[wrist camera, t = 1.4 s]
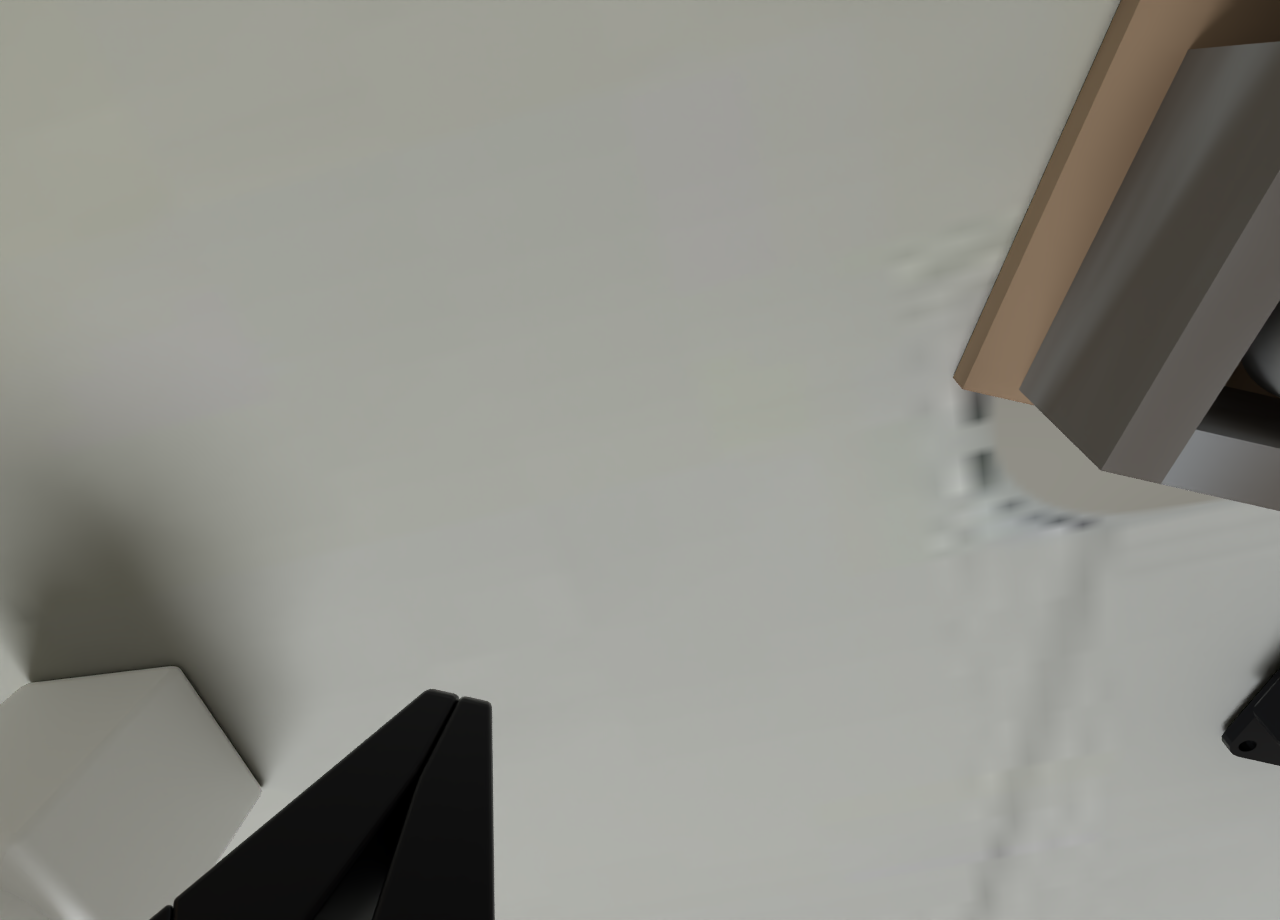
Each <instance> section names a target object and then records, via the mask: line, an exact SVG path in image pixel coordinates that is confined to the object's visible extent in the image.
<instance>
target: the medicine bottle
mask: <svg viewBox="0 0 1280 920" xmlns="http://www.w3.org/2000/svg"><path fill="white" fill-rule="evenodd" d="M261 792H262V790H261V787H260V785H259V783H258V782H257V780H256V779H255V777H254V776H253V775H252V773H251V772H250V770H249V769H248V767H247V766H246V764H245V763H244V761H243V760H242V758H241V757H240V755H239V754H238V753H237V751H236V750H235V748H234V747H233V745H232V744H231V742H230V741H229V739H228V738H227V736H226V735H225V733H224V732H223V730H222V729H221V728H220V726H219V725H218V723H217V722H216V720H215V719H214V717H213V716H212V714H211V713H210V711H209V710H208V708H207V707H206V706H205V704H204V703H203V701H202V700H201V698H200V697H199V695H198V694H197V692H196V691H195V689H194V688H193V686H192V685H191V684H190V682H189V681H188V679H187V678H186V676H185V675H184V673H183V672H182V670H181V669H180V668H179V667H177V666H167V667H158V668H150V669H142V670H133V671H125V672H117V673H108V674H100V675H92V676H84V677H75V678H67V679H59V680H50V681H42V682H34V683H28V684H26V685H24V686H22V687H21V688H19V689H18V690H17V691H16V692H15V693H14V694H12V695H11V696H10V697H9V698H8V699H7V700H5V701H4V702H3V703H2V704H1V705H0V920H149V919H150V918H152V917H153V916H154V915H155V914H156V913H158V912H159V911H160V910H161V909H162V908H164V907H165V906H166V905H172V906H173V902H174V900H175V898H176V897H177V896H179V895H180V894H181V893H182V892H183V891H185V890H186V889H187V888H188V887H189V886H191V885H192V884H193V883H194V882H195V881H197V880H198V879H199V878H200V877H201V876H203V875H204V874H205V873H206V872H208V871H209V870H210V869H211V868H212V867H214V866H215V865H216V863H217V862H218V860H219V859H220V857H221V856H222V854H223V853H224V851H225V850H226V848H227V846H228V845H229V843H230V842H231V840H232V839H233V837H234V836H235V834H236V833H237V831H238V829H239V828H240V826H241V825H242V823H243V822H244V820H245V819H246V817H247V816H248V814H249V812H250V811H251V809H252V808H253V806H254V805H255V803H256V802H257V800H258V798H259V797H260V795H261Z"/></svg>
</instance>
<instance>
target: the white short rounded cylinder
mask: <svg viewBox="0 0 1280 920" xmlns="http://www.w3.org/2000/svg"><path fill="white" fill-rule="evenodd" d="M1241 362H1242V364H1243V366H1244V369H1245V370H1246V372H1247V373H1248V374H1249V376H1250V377H1251V378H1252V379H1253V380H1254V381H1255V382H1256V383H1257V384H1258V385H1259V386H1260V387H1262V388H1263V389H1265V390H1266V391H1268V392H1270V393H1271V394H1273V395H1275V396H1277V397H1279V398H1280V301H1279V302H1278V304H1277V306H1276V307H1275V309H1274V310H1273V312H1272V313H1271V315H1270V316H1269V318H1268V319H1267V321H1266V322H1265V324H1264V326H1263V327H1262V329H1261V330H1260V332H1259V333H1258V335H1257V336H1256V338H1255V339H1254V341H1253V343H1252V344H1251V346H1250V347H1249V349H1248V350H1247V352H1246V353H1245V355H1244V356H1243V358H1242V359H1241Z"/></svg>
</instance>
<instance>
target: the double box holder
mask: <svg viewBox="0 0 1280 920" xmlns="http://www.w3.org/2000/svg"><path fill="white" fill-rule="evenodd" d="M1279 301H1280V0H1121V2H1120V4H1119V6H1118V9H1117V11H1116V13H1115V15H1114V18H1113V20H1112V22H1111V24H1110V27H1109V29H1108V31H1107V33H1106V36H1105V38H1104V40H1103V42H1102V44H1101V47H1100V49H1099V51H1098V53H1097V56H1096V58H1095V60H1094V62H1093V65H1092V67H1091V69H1090V71H1089V74H1088V76H1087V78H1086V80H1085V83H1084V85H1083V87H1082V89H1081V92H1080V94H1079V96H1078V98H1077V101H1076V103H1075V105H1074V107H1073V110H1072V112H1071V114H1070V116H1069V119H1068V121H1067V123H1066V125H1065V127H1064V130H1063V132H1062V134H1061V136H1060V139H1059V141H1058V143H1057V145H1056V148H1055V150H1054V152H1053V154H1052V157H1051V159H1050V161H1049V163H1048V166H1047V168H1046V170H1045V172H1044V175H1043V177H1042V179H1041V181H1040V184H1039V186H1038V188H1037V190H1036V193H1035V195H1034V197H1033V199H1032V202H1031V204H1030V206H1029V208H1028V210H1027V213H1026V215H1025V217H1024V219H1023V222H1022V224H1021V226H1020V228H1019V231H1018V233H1017V235H1016V237H1015V240H1014V242H1013V244H1012V246H1011V249H1010V251H1009V253H1008V255H1007V258H1006V260H1005V262H1004V264H1003V267H1002V269H1001V271H1000V273H999V276H998V278H997V280H996V282H995V285H994V287H993V289H992V291H991V293H990V296H989V298H988V300H987V302H986V305H985V307H984V309H983V311H982V314H981V316H980V318H979V320H978V323H977V325H976V327H975V329H974V332H973V334H972V336H971V338H970V341H969V343H968V345H967V347H966V350H965V352H964V354H963V356H962V359H961V361H960V363H959V365H958V368H957V370H956V372H955V374H954V376H953V378H954V379H955V381H956V382H957V383H958V384H959V385H960V387H961V388H962V389H964V390H969V391H973V392H978V393H982V394H986V395H991V396H995V397H1000V398H1004V399H1008V400H1013V401H1017V402H1022V403H1026V404H1030V405H1035V406H1036V407H1037V408H1038V409H1039V410H1040V411H1041V412H1042V413H1043V414H1044V415H1045V416H1046V417H1047V418H1048V419H1049V420H1050V421H1051V422H1052V423H1053V424H1054V425H1055V426H1056V427H1057V428H1058V429H1059V430H1060V431H1061V432H1062V433H1063V434H1064V435H1065V436H1066V437H1067V438H1068V439H1069V440H1070V441H1071V442H1073V444H1074V445H1076V446H1077V447H1078V448H1079V449H1080V450H1081V451H1082V452H1083V453H1084V454H1085V455H1086V456H1087V457H1088V458H1089V459H1090V460H1091V461H1092V462H1093V463H1094V464H1095V465H1096V466H1097V467H1098V468H1099V469H1100V470H1102V471H1106V472H1110V473H1114V474H1119V475H1123V476H1128V477H1132V478H1136V479H1141V480H1145V481H1150V482H1154V483H1159V484H1163V485H1167V486H1172V487H1176V488H1181V489H1185V490H1190V491H1194V492H1198V493H1203V494H1207V495H1211V496H1216V497H1220V498H1225V499H1229V500H1234V501H1238V502H1242V503H1247V504H1251V505H1256V506H1260V507H1264V508H1269V509H1273V510H1278V511H1280V398H1279V397H1277V396H1275V395H1273V394H1271V393H1270V392H1268V391H1266V390H1265V389H1263V388H1262V387H1260V386H1259V385H1258V384H1257V383H1256V382H1255V381H1254V380H1253V379H1252V378H1251V377H1250V376H1249V374H1248V373H1247V372H1246V370H1245V369H1244V366H1243V364H1242V362H1241V359H1242V358H1243V356H1244V355H1245V353H1246V352H1247V350H1248V349H1249V347H1250V346H1251V344H1252V343H1253V341H1254V339H1255V338H1256V336H1257V335H1258V333H1259V332H1260V330H1261V329H1262V327H1263V326H1264V324H1265V322H1266V321H1267V319H1268V318H1269V316H1270V315H1271V313H1272V312H1273V310H1274V309H1275V307H1276V306H1277V304H1278V302H1279Z"/></svg>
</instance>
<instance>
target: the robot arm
mask: <svg viewBox="0 0 1280 920" xmlns="http://www.w3.org/2000/svg"><path fill="white" fill-rule="evenodd" d="M1222 741H1223V743H1224V744H1225V745H1226V746H1227V748H1228V749H1229V750H1230V752H1231V753H1232V754H1233V755H1236V756H1238V757H1243V758H1247V759H1252V760H1256V761H1261V762H1265V763H1270V764H1274V765H1279V766H1280V669H1279V670H1278V671H1277V672H1276V673H1275V674H1274V676H1273V677H1272V678H1271V679H1270V680H1269V681H1268V683H1267V684H1266V685H1265V686H1264V687H1263V688H1262V689H1261V691H1260V692H1259V693H1258V694H1257V695H1256V696H1255V697H1254V699H1253V700H1252V701H1251V702H1250V703H1249V704H1248V706H1247V707H1246V708H1245V709H1244V710H1243V711H1242V712H1241V714H1240V715H1239V716H1238V717H1237V718H1236V719H1235V720H1234V722H1233V723H1232V724H1231V725H1230V726H1229V727H1228V728H1227V730H1226V731H1225V732H1224V734H1223V735H1222ZM149 920H495V910H494V832H493V754H492V706H491V704H490V703H489V702H488V701H484V700H480V699H475V698H471V697H461V698H460V699H459V697H458V696H457V695H456V694H453V693H449V692H444V691H440V690H436V689H429V690H426V691H424V692H423V693H422V694H421V695H419V696H418V697H417V698H416V699H415V700H413V701H412V702H411V703H410V704H409V705H407V706H406V707H405V708H404V709H403V710H401V711H400V712H399V713H398V714H397V715H395V716H394V717H393V718H392V719H391V720H389V721H388V722H387V723H386V724H385V725H383V726H382V727H381V728H380V729H379V730H377V731H376V732H375V733H374V734H373V735H371V736H370V737H369V738H368V739H366V740H365V741H364V742H363V743H362V744H360V745H359V746H358V747H357V748H356V749H354V750H353V751H352V752H351V753H350V754H348V755H347V756H346V757H345V758H344V759H342V760H341V761H340V762H339V763H338V764H336V765H335V766H334V767H333V768H332V769H330V770H329V771H328V772H327V773H326V774H324V775H323V776H322V777H321V778H320V779H318V780H317V781H316V782H315V783H313V784H312V785H311V786H310V787H309V788H307V789H306V790H305V791H304V792H303V793H301V794H300V795H299V796H298V797H297V798H295V799H294V800H293V801H292V802H291V803H289V804H288V805H287V806H286V807H285V808H283V809H282V810H281V811H280V812H279V813H277V814H276V815H275V816H274V817H273V818H271V819H270V820H269V821H268V822H267V823H265V824H264V825H263V826H262V827H261V828H259V829H258V830H257V831H256V832H254V833H253V834H252V835H251V836H250V837H248V838H247V839H246V840H245V841H244V842H242V843H241V844H240V845H239V846H238V847H236V848H235V849H234V850H233V851H232V852H230V853H229V854H228V855H227V856H226V857H224V858H223V859H222V860H221V861H220V862H218V863H217V864H216V865H215V866H214V867H212V868H211V869H210V870H209V871H208V872H206V873H205V874H204V875H203V876H201V877H200V878H199V879H198V880H197V881H195V882H194V883H193V884H192V885H191V886H189V887H188V888H187V889H186V890H185V891H183V892H182V893H181V894H180V895H179V896H177V897H176V898H175V900H174V902H173V906H172V905H166V906H165V907H164V908H162V909H161V910H160V911H159V912H158V913H156V914H155V915H154V916H153V917H152V918H150V919H149Z"/></svg>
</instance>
